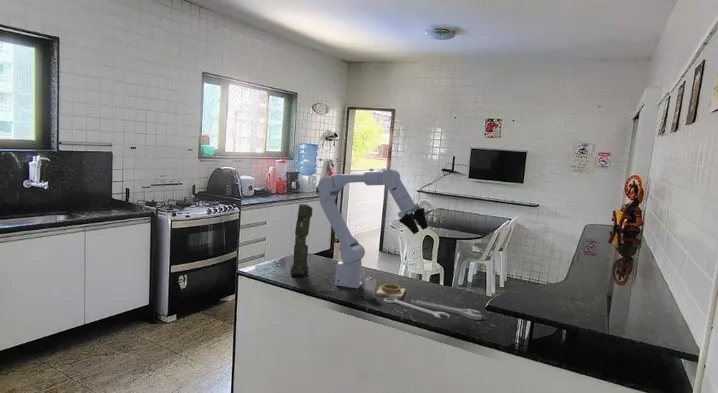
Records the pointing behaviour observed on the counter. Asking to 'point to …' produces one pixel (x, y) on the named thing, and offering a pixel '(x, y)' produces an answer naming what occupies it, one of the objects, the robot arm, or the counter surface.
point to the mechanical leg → (301, 242)
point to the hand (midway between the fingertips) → (421, 230)
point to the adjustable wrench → (450, 309)
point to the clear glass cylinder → (369, 288)
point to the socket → (390, 291)
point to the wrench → (417, 308)
